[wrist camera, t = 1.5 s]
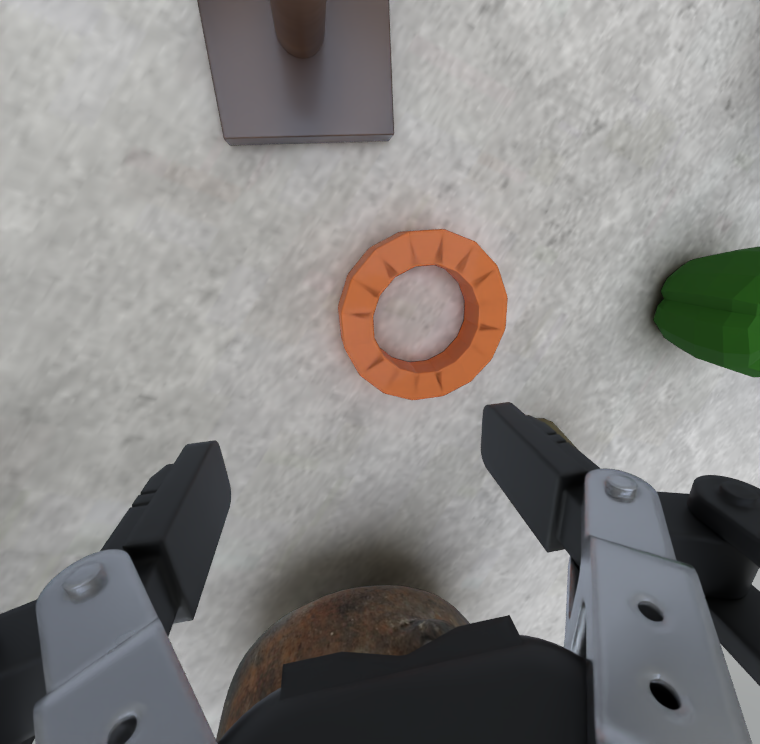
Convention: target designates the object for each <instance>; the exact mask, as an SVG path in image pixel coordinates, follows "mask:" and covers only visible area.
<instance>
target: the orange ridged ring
mask: <svg viewBox="0 0 760 744" xmlns="http://www.w3.org/2000/svg"><path fill="white" fill-rule="evenodd" d="M427 265H436V266H438V267H441V268H444V269H445V270H446V271H447V272H448V273H449V274H450V275H451V276H452V277H453V278H454V279H455V280H456V281H457V282H458V283H459V286H460V289H461V291H462V294H463V297H464V299H465V309H464V321H463V324H462V326H461V329H460V331H459V333H458V336H457V337H456V339H455V340H454V341H453V342H452V343H451V344H450V345H449V346H448V347H447V348H446V350H445V351H444V352H442V353H440V354H438V355H436V356H434V357H432V358H430V359H429V360H425V361H416V362H407V361H403V360H400V359H396V358H392V357H391V356H390V355H388V354H387V353H386V352H385V351H383V350H382V349H381V348H380V347H379V346H378V344H377V342H376V340H375V338H374V324H373V315H374V312H375V309H376V306H377V303H378V300H379V297H380V295H381V293H382V292H383V291H384V290H385V289H386V287H387V286H388V285H389V284H390V283H391V281H392V280H393V279H394V278H395V277H396V276H398V275H400V274H402V273H404V272H406V271H408V270H410V269H411V268H413V267H415V266H427ZM507 299H508V298H507V294H506V291H505V288H504V285H503V282H502V278H501V275H500V272H499V269H498V267H497V265H496V264H495V263H494V262H493V261H492V259H491V258H490V257H489V256H488V255H487V254H486V253H485V252H484V251H483V249H482V248H481V247H480V246H479V245H478V244H477V243H476V242H475V241H472V240H470V239H467V238H465V237H462V236H460V235H457V234H455V233H452V232H450V231H448V230H445V229H435V230H419V231H404V232H398V233H396V234H394V235H392V236H390V237H389V238H387V239H385V240H383V241H381V242H379V243H377V244H375V245H374V246H372V247H370V248H369V249H368V250H367V251H366V252H365V254H364V255H363V256H362V257H361V258H360V260H359V261H358V262H357V263H356V265H355V266H354V267H353V268H352V270H351V271H350V272H349V273H348V275H347V278H346V281H345V285H344V288H343V291H342V295H341V298H340V301H339V305H338V306H339V307H338V312H339V321H340V331H341V338H342V341H343V345H344V348H345V350H346V352H347V354H348V355H349V357H350V359H351V361H352V362H353V364H354V366H355V368H356V370H357V371H358V373H359V374H360V376H361V377H363V378H364V379H365V380H367V381H368V382H369V383H371V384H372V385H373V386H375V387H376V388H377V389H379V390H380V391H381V392H383V393H385V394H389V395H393V396H397V397H401V398H405V399H410V400H418V399H425V398H433V397H440V396H444V395H446V394H448V393H450V392H452V391H454V390H456V389H457V388H459V387H461V386H463V385H465V384H467V383H469V382H471V381H472V380H473V379H474V377H475V376H476V375H477V374H478V373H479V372H480V371H481V370H482V369H483V368H484V367H485V366H486V365H487V364H488V363H489V362H490V360H491V359H492V357H493V355H494V353H495V351H496V348H497V346H498V344H499V342H500V340H501V337H502V335H503V333H504V331H505V326H506V312H507Z"/></svg>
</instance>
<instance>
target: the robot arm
mask: <svg viewBox="0 0 760 744" xmlns="http://www.w3.org/2000/svg"><path fill="white" fill-rule="evenodd" d="M481 455H482V459H483V462H484V464H485V466H486V468H487V470H488V471H489V472H490V474H491V475H492V476H493V478H494V479H495V481H496V482H497V483H498V485H499V486H500V488H501V489H502V490H503V492H504V493H505V494H506V496H507V497H508V499H509V500H510V501H511V503H512V504H513V506H514V507H515V508H516V510H517V511H518V513H519V514H520V515H521V517H522V518H523V519H524V521H525V522H526V524H527V525H528V526H529V528H530V529H531V531H532V532H533V533H534V535H535V536H536V537H537V539H538V540H539V542H540V543H541V544H542V546H543V547H544V549H545V550H546V551H547V553H548V552H553V551H558V550H563V549H565V550H566V551H567V552H568V553H569V555H570V558H569V563H568V579H567V603H566V626H565V640H564V647H562V646H559V645H557V644H555V643H552V642H549V641H546V640H543V639H540V638H535V637H530V636H525V635H519V633H518V631H517V629H516V627H515V625H514V623H513V621H512V619H511V617H510V615H508V616H504V617H499V618H494V619H490V620H485V621H481V622H476V623H471V624H467V625H462V626H457V627H456V628H454V629H452V630H450V631H448V632H447V633H445V634H443V635H441V636H439V637H438V638H436V639H434V640H432V641H431V642H429V643H427V644H425V645H423V646H422V647H420V648H418V649H416V650H414V651H413V652H411V653H409V654H407V655H402V656H396V655H383V654H369V653H356V652H343V651H342V652H337V653H333V654H328V655H323V656H319V657H314V658H309V659H305V660H300V661H296V662H291V663H286V664H283V668H282V680H281V688H279V689H277V690H276V691H274V692H272V693H271V694H269V695H268V696H266V697H265V698H263V699H262V700H261V701H259V702H258V703H256V704H255V705H254V706H253V707H252V708H250V709H249V710H248V711H247V712H246V713H245V714H243V715H242V716H241V717H240V718H239V719H238V720H237V721H236V722H235V723H234V724H233V726H232V727H231V728H230V729H229V730H228V731H227V732H226V733H225V734H224V735H223V737H222V738H221V739H220V740H219V742H218V743H217V741H216V739H215V737H214V735H213V733H212V730H211V728H210V726H209V724H208V722H207V720H206V718H205V715H204V713H203V711H202V709H201V707H200V705H199V703H198V700H197V698H196V696H195V694H194V692H193V690H192V688H191V685H190V683H189V681H188V679H187V677H186V675H185V672H184V670H183V668H182V666H181V664H180V662H179V660H178V657H177V655H176V653H175V651H174V649H173V647H172V645H171V642H170V640H169V638H168V636H169V633H170V630H171V628H172V625H173V624H174V623H179V622H184V621H190V620H193V619H194V616H195V613H196V610H197V607H198V603H199V600H200V597H201V594H202V591H203V588H204V585H205V582H206V579H207V576H208V573H209V570H210V566H211V563H212V560H213V557H214V554H215V551H216V548H217V545H218V542H219V539H220V536H221V532H222V529H223V526H224V523H225V520H226V517H227V514H228V511H229V508H230V503H231V488H230V483H229V479H228V475H227V471H226V468H225V464H224V460H223V457H222V453H221V449H220V446H219V444H218V442H217V441H207V442H200V443H192V444H187V445H186V446H185V447H184V448H183V450H182V452H181V453H180V455H179V456H178V458H177V459H176V461H175V463H174V464H169V465H166V466H165V467H164V468H162V469H161V470H160V471H159V472H157V473H156V474H155V475H154V476H152V477H151V478H150V479H149V481H148V482H147V484H146V485H145V487H144V488H143V490H142V491H141V495H138V497H137V498H136V500H135V501H134V503H133V504H132V508H129V510H128V511H127V513H126V514H125V516H124V517H123V519H122V520H121V522H120V523H119V524H118V526H117V527H116V529H115V530H114V532H113V533H112V535H111V536H110V538H109V539H108V540H107V542H106V543H105V545H104V546H103V548H102V549H101V551H100V552H96V553H93V554H91V555H88V556H86V557H84V558H82V559H80V560H78V561H76V562H75V563H73V564H71V565H70V566H68V567H67V568H65V569H64V570H63V571H61V572H60V573H59V574H58V575H56V576H55V577H54V578H53V579H52V580H51V581H50V582H49V583H48V584H47V585H46V587H45V588H44V589H43V591H42V592H41V594H40V595H39V597H38V599H37V600H35V601H32V602H30V603H27V604H25V605H22V606H20V607H17V608H15V609H12V610H9V611H7V612H4V613H2V614H0V744H32V742H33V741H34V739H35V741H36V744H752V741H751V738H750V735H749V732H748V729H747V726H746V723H745V720H744V717H743V713H742V710H741V707H740V704H739V701H738V698H737V695H736V692H735V689H734V686H733V682H732V680H731V676H730V673H729V670H728V667H727V664H726V661H725V658H724V654H723V651H722V648H721V645H722V646H723V647H724V648H725V649H726V650H727V651H728V652H729V653H730V654H731V655H732V656H733V658H734V659H735V660H736V661H737V662H738V663H739V664H740V665H741V666H742V667H743V668H744V669H745V671H746V672H747V673H748V674H749V675H750V676H751V677H752V678H753V679H754V680H755V681H756V682H757V684H758V685H759V686H760V591H759V590H757V589H756V588H755V587H754V586H753V585H752V582H753V580H754V577H755V576H756V573H757V571H758V569H759V568H760V489H759V488H757V487H755V486H753V485H750V484H748V483H745V482H743V481H740V480H736V479H733V478H729V477H724V476H717V475H705V476H700V477H698V478H696V479H695V480H694V483H693V485H692V488H691V491H690V494H682V493H668V492H656V490H655V489H654V488H653V487H652V486H651V485H650V484H648V483H647V482H646V481H644V480H642V479H641V478H639V477H637V476H635V475H632V474H630V473H627V472H624V471H620V470H615V469H600V468H599V467H598V466H597V465H596V464H594V463H593V462H592V461H591V460H590V459H588V458H587V457H586V456H585V455H583V454H582V453H581V452H580V451H579V450H577V449H576V448H575V447H574V446H573V445H571V444H570V443H569V442H566V440H565V439H564V438H563V437H562V436H561V435H559V434H557V432H556V431H555V430H553V429H552V428H551V427H550V426H549V425H547V424H546V423H545V422H543V421H540V420H538V419H536V418H534V417H532V416H529V415H527V416H526V415H525V414H524V413H523V412H521V411H520V410H519V409H518V408H517V407H516V406H514V405H513V404H512V403H510V402H507V403H499V404H491V405H486V406H485V407H484V409H483V419H482V436H481ZM720 644H721V645H720Z"/></svg>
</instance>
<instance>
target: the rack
mask: <svg viewBox="0 0 760 744" xmlns="http://www.w3.org/2000/svg"><path fill="white" fill-rule="evenodd" d="M197 2H198V7H199V12H200V17H201V22H202V28H203V33H204V38H205V43H206V48H207V54H208V59H209V64H210V69H211V74H212V80H213V85H214V90H215V95H216V101H217V106H218V111H219V116H220V121H221V127H222V132H223V137H224V139H225V140H226V141H227V142H228V143H229V145H262V144H298V143H334V142H370V141H389V140H390V138H391V137H392V136H393V135H394V120H393V95H392V69H391V43H390V17H389V0H197Z"/></svg>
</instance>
